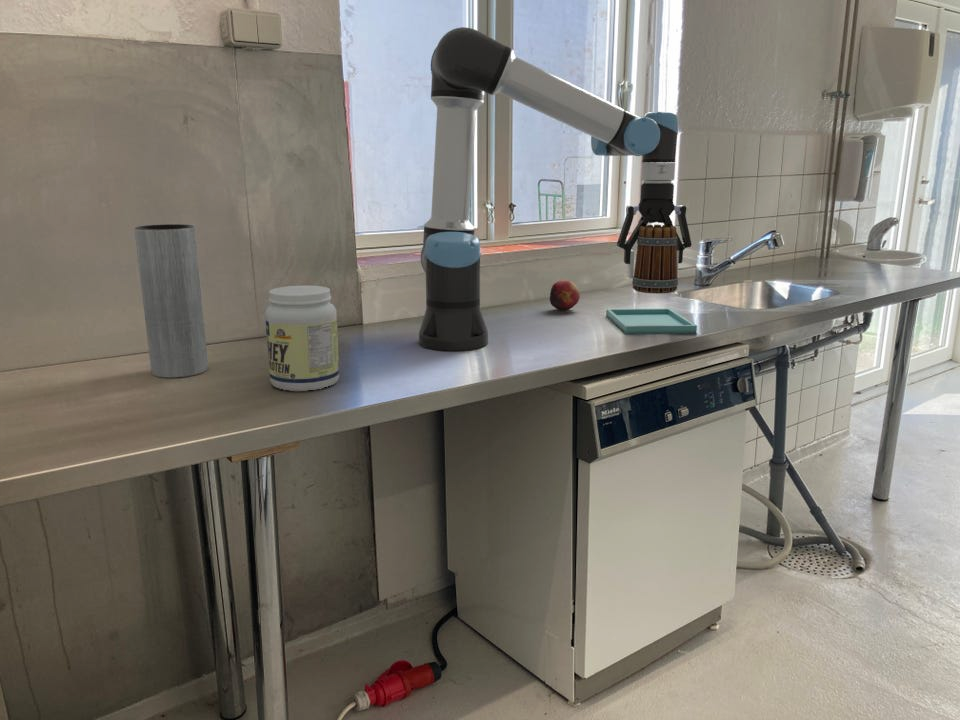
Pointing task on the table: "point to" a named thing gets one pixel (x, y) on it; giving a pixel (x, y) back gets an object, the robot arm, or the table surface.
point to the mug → (656, 260)
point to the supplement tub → (302, 338)
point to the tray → (650, 321)
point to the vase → (172, 299)
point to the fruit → (564, 295)
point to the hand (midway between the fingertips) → (652, 277)
